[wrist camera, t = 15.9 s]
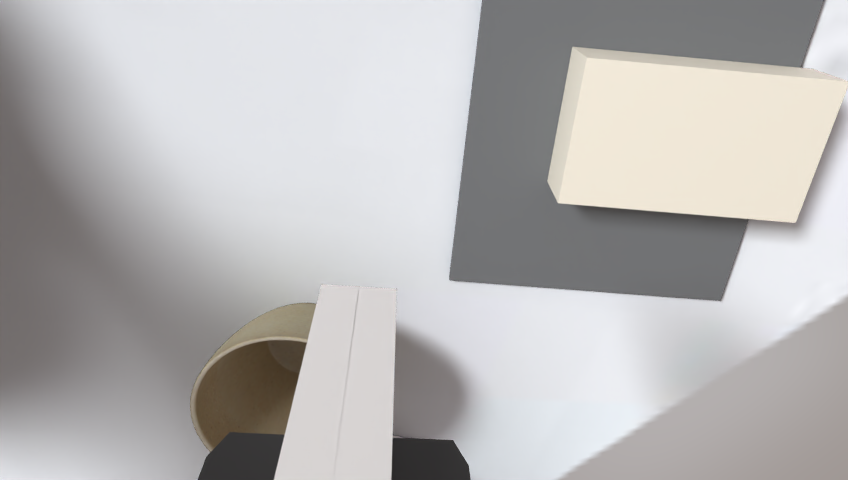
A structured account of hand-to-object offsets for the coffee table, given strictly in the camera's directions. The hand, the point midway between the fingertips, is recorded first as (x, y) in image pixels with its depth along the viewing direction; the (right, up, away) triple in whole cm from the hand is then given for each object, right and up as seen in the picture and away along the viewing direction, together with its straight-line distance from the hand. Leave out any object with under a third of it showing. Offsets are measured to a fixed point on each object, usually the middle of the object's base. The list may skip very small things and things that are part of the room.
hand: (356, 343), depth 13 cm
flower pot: (-6, -4, +26) cm, 27 cm away
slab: (+8, +8, +18) cm, 21 cm away
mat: (+12, +9, +19) cm, 24 cm away
